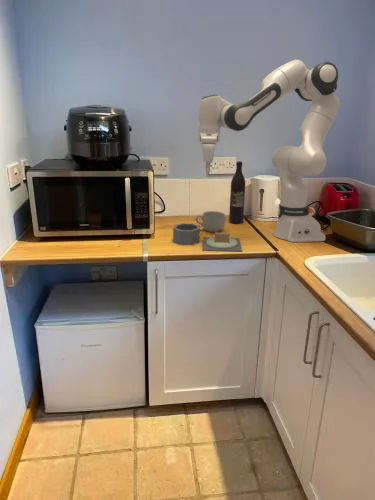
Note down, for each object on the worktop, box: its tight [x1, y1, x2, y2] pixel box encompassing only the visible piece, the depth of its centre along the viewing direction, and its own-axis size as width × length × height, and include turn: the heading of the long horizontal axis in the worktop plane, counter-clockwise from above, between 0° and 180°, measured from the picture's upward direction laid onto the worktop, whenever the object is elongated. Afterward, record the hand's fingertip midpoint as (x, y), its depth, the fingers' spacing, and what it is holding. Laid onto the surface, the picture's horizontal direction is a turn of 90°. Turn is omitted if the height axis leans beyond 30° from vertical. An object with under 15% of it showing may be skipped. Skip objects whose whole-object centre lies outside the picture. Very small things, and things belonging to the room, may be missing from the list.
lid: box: [206, 232, 237, 249], centre depth 158 cm, size 13×13×4 cm
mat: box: [201, 236, 243, 253], centre depth 159 cm, size 16×16×1 cm
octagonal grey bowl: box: [172, 222, 201, 246], centre depth 162 cm, size 11×11×6 cm
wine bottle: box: [228, 161, 246, 225], centre depth 186 cm, size 7×7×30 cm
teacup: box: [194, 210, 226, 233], centre depth 177 cm, size 14×11×8 cm
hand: (207, 170), depth 161 cm, fingers open, 8 cm apart
